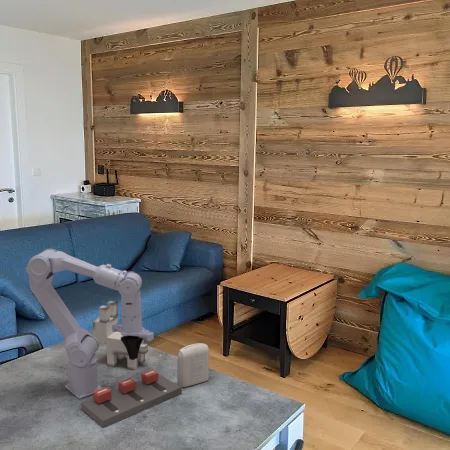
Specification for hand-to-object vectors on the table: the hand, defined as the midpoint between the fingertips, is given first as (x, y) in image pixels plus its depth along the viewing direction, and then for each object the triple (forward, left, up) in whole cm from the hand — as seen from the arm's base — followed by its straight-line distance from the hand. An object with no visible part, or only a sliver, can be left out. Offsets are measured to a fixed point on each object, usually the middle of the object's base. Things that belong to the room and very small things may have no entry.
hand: (133, 358), depth 143 cm
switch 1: (+2, -11, -8) cm, 14 cm away
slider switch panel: (+5, -3, -10) cm, 12 cm away
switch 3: (+2, +5, -8) cm, 9 cm away
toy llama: (-18, +8, -11) cm, 23 cm away
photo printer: (+8, +17, -11) cm, 21 cm away
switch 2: (+2, -3, -8) cm, 9 cm away
